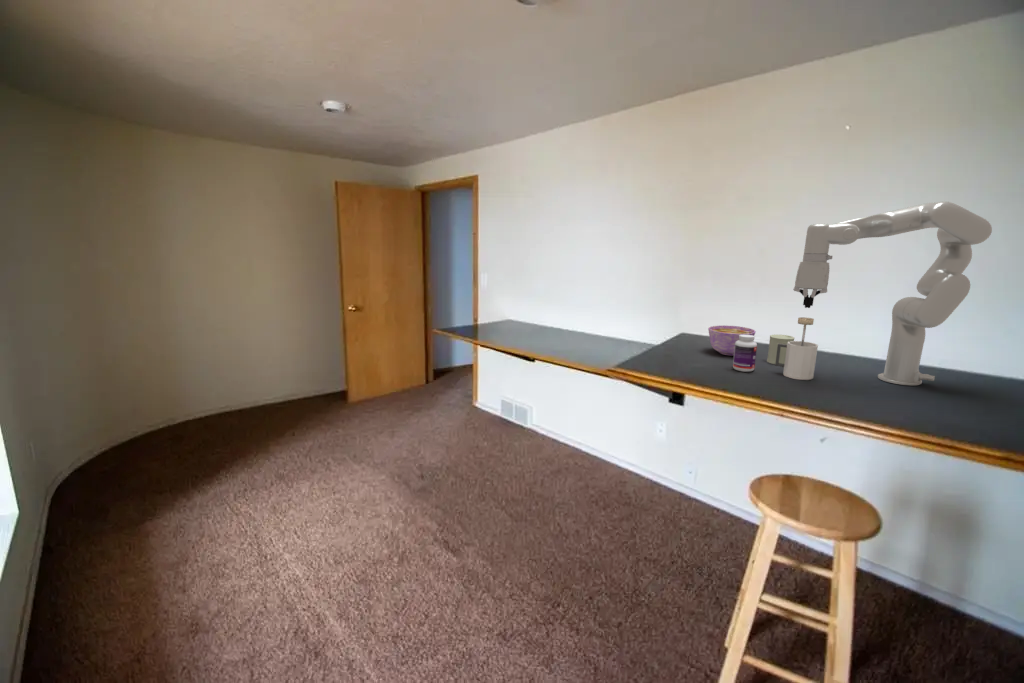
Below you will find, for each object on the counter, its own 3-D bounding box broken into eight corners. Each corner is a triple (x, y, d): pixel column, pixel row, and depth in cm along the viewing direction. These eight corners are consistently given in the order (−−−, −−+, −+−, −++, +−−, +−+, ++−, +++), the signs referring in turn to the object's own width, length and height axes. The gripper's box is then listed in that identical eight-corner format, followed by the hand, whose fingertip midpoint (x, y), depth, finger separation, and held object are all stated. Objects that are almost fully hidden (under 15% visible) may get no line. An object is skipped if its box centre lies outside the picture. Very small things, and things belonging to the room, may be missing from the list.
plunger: (813, 352, 174) (818, 318, 171) (811, 356, 169) (816, 320, 166) (791, 350, 178) (796, 316, 175) (789, 353, 173) (793, 318, 170)
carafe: (814, 375, 176) (819, 343, 174) (811, 381, 169) (816, 348, 166) (776, 369, 184) (780, 338, 181) (772, 375, 177) (776, 343, 174)
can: (795, 365, 190) (799, 337, 188) (773, 365, 190) (777, 338, 188) (783, 359, 199) (786, 333, 197) (762, 359, 199) (765, 333, 197)
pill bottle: (755, 373, 180) (759, 338, 176) (733, 371, 182) (737, 337, 179) (752, 367, 187) (756, 334, 184) (731, 366, 190) (734, 333, 186)
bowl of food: (697, 349, 218) (699, 326, 216) (734, 347, 222) (736, 324, 219) (723, 360, 199) (725, 334, 197) (763, 357, 203) (766, 332, 200)
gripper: (840, 258, 164) (832, 308, 168) (792, 257, 173) (786, 304, 177) (839, 259, 158) (830, 310, 162) (790, 258, 167) (783, 306, 171)
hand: (807, 307), depth 170 cm, fingers closed
